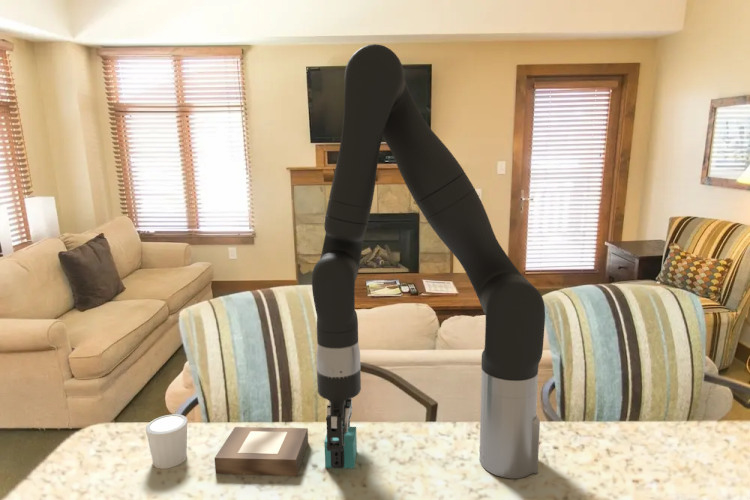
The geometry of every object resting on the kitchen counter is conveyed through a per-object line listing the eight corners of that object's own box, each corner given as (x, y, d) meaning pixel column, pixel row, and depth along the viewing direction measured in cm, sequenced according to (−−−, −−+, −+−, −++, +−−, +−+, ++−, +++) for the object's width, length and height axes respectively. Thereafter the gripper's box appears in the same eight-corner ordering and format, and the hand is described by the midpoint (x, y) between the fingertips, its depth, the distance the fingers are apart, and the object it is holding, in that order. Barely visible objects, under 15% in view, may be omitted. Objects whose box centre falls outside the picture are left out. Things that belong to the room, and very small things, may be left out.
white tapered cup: (175, 472, 83) (172, 435, 82) (140, 468, 84) (136, 431, 83) (198, 450, 89) (195, 415, 88) (165, 446, 91) (161, 412, 90)
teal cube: (356, 452, 88) (356, 426, 87) (354, 468, 83) (353, 442, 82) (329, 451, 88) (328, 426, 88) (325, 468, 83) (324, 441, 83)
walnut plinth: (308, 442, 91) (307, 428, 91) (296, 475, 81) (295, 459, 81) (235, 441, 92) (234, 426, 92) (215, 473, 82) (214, 457, 82)
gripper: (356, 384, 76) (358, 478, 78) (363, 351, 90) (365, 431, 92) (309, 384, 76) (312, 477, 79) (323, 350, 90) (326, 430, 93)
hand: (341, 452), depth 86 cm, fingers open, 8 cm apart
